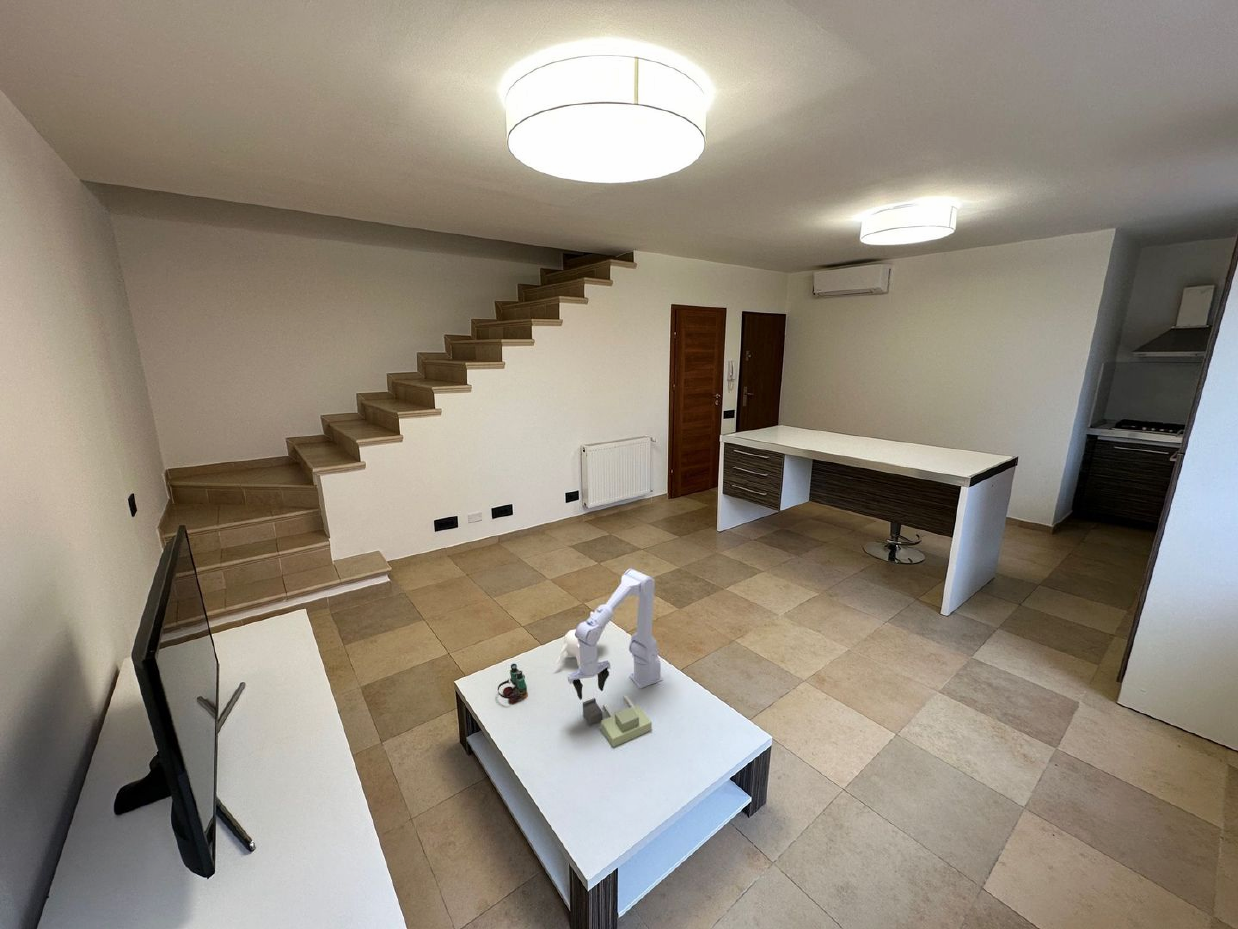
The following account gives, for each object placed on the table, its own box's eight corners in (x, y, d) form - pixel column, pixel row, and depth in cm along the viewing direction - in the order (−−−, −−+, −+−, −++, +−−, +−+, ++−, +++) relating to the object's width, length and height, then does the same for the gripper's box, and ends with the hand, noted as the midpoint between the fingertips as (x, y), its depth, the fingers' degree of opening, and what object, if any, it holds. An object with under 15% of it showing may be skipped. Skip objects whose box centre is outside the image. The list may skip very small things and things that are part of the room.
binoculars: (491, 673, 171) (516, 659, 176) (496, 696, 174) (521, 682, 180) (501, 686, 164) (528, 671, 169) (507, 711, 167) (533, 695, 173)
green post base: (627, 697, 171) (626, 683, 169) (651, 730, 157) (651, 714, 155) (590, 712, 165) (590, 697, 163) (612, 747, 150) (612, 731, 149)
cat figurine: (563, 680, 180) (560, 641, 176) (548, 666, 188) (546, 628, 184) (615, 652, 196) (614, 615, 191) (600, 640, 203) (598, 605, 199)
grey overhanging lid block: (595, 710, 166) (594, 697, 165) (602, 722, 161) (602, 709, 159) (583, 715, 164) (582, 702, 163) (590, 727, 159) (589, 714, 157)
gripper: (602, 644, 163) (604, 678, 167) (563, 658, 157) (565, 693, 160) (612, 655, 158) (614, 691, 161) (571, 670, 151) (574, 707, 154)
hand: (590, 693), depth 160 cm, fingers open, 7 cm apart
